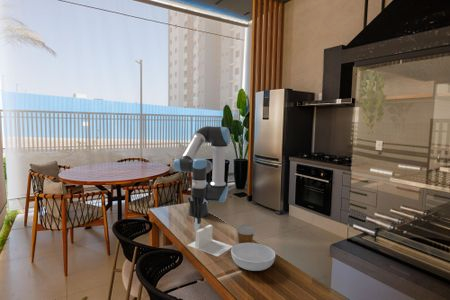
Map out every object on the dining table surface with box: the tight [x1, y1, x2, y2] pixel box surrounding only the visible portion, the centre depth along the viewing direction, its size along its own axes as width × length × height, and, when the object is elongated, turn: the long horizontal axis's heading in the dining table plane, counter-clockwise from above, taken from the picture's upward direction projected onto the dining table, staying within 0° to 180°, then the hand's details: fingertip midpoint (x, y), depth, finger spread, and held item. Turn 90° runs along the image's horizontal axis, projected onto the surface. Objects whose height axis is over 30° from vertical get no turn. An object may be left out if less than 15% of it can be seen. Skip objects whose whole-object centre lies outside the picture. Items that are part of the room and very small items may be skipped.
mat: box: [187, 238, 234, 258], centre depth 145 cm, size 15×20×1 cm
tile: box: [194, 224, 214, 250], centre depth 147 cm, size 12×2×9 cm, turn 146°
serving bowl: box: [230, 242, 276, 272], centre depth 128 cm, size 21×21×7 cm
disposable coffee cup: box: [236, 224, 256, 244], centre depth 144 cm, size 10×10×12 cm
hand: (197, 228), depth 150 cm, fingers closed
